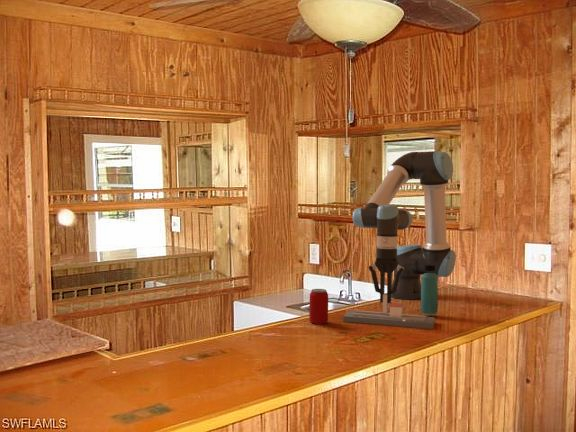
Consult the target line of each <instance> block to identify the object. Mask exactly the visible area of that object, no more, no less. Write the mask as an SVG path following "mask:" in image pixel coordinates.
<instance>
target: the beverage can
mask: <svg viewBox="0 0 576 432" xmlns="http://www.w3.org/2000/svg"><path fill="white" fill-rule="evenodd" d="M308 308H309V310H308V311H309V313H308V315H309V316H308V317H309V318H308V319H309V322H310V323H311V324H313V323H314V325H325V324H326V323H328V321H329V319H328V318H329V294H328V291H327V289H325V288H312V289H311V291H310V293H309V306H308Z"/></svg>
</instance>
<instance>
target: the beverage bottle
mask: <svg viewBox="0 0 576 432" xmlns="http://www.w3.org/2000/svg"><path fill="white" fill-rule="evenodd" d="M424 270H426V271H435V265H425V267H424ZM420 281H421V299H420V312H421V314H424V315H437V314H438V313H439V311H438V310H439V309H438V307H439V303H438V302H439V291H438V290H439V283H438V282H439V277H438V276H437V275H436V274H434V273H424V274H423V275H420Z"/></svg>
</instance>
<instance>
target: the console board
mask: <svg viewBox="0 0 576 432" xmlns="http://www.w3.org/2000/svg"><path fill="white" fill-rule="evenodd" d="M342 318H343V319H342V322H345V323H355V324H367V325H379V326H390V327H391V326H392V327H401V328H413V329H415V328H416V329H424V330H425V329H426V330H434V326H435V323H436V322H435V320H436V317H435V316H434V317H433V316H432V317H431V316H426V315H419V314H406V313H405V314H404V313H402V317H397V316H390V312H383V311H382V312H381V311H369V310H368V311H365V310H348V311H347V312H345V314H344V315H343V317H342Z"/></svg>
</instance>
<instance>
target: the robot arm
mask: <svg viewBox="0 0 576 432" xmlns="http://www.w3.org/2000/svg"><path fill="white" fill-rule="evenodd" d="M453 173H454V164H453V160H452V157H451V156H450V154H449V153H448V152H446V151H438V150H436V151H435V150H434V151H432V150H431V151H411V152H408V153H404V154H403V155H401V156H400V157H398V158H397V159H396V160H395V161H394V162H393V163H392V164H391V165H390V166H389V167H388V168H387V172H386V176H385V177H384V179H383V180H382V182H380V184H379V185H378V187H377V189H376V190H375V191H374V193H373V194H372V196H371V197H370V199H369V200H368V202H367V203H366V205H365V206H364V207H359V208H355V210H353V212H352V222H353V225H354V226H355V227H359V228H364V229H376V246H377V247H376V248H375V249H376V250H375V251H376V252H375V261H374V263H373V264H371V265H369V266H368V270H369V271H370V273H371V277H372V283H373V287H374V290H375V293H377V294H379V302H380V303H382V313H388V311H389V303H390V302H392V298H393V299H399V300H400V299H401V300H421V276H422V275H423V274H424V273H434V274H436V275H437V276H438V278H440V277H444V278H447V277H450V276H451V274H452V273H453V271H454V269H455V265H456V259H457V258H456V257H457V256H456V255H457V254H456V252H455V250H454V249H451V244H450V243H449V242H448V241H447V213H446V211H447V210H446V186H447V185H448V184H449V180H451V179H452V178H453V175H454V174H453ZM409 180H419V185H421V187H422V188H423V195H424V198H423V199H424V221H425V243H423V245H421V244H420V243H419V244H407V245H406V244H404V245H398V239H399V238H398V237H399V235H398V230H402V231H403V230H405V229H407V228H409V227H410V226H411V225H412V223H413V216H412V213H411V212H410V211H408V210H407V209H403V208H402V209H400V208H398V206H397V205H394V204H393V205H390V204H391V202H392V201H393V199H394V198H395V196H396V195H397V194H398V192H399V190H400V189H401V187H402V186H403V185H405V184H407V182H408V181H409ZM425 265H435V271H426V270H424V267H425ZM376 268H377V269H378V272H379V273H380V274H379V276H380V279H378V276H377V275H378V274H377V271H376ZM386 275H387V278H386ZM385 278H386V279H387V280H386V279H385ZM392 278H393V279H392ZM379 280H380V282H379ZM385 280H386V281H387V283H385ZM385 284H387V285H386V286H387V287H386V286H385ZM385 287H386V292H385Z"/></svg>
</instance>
